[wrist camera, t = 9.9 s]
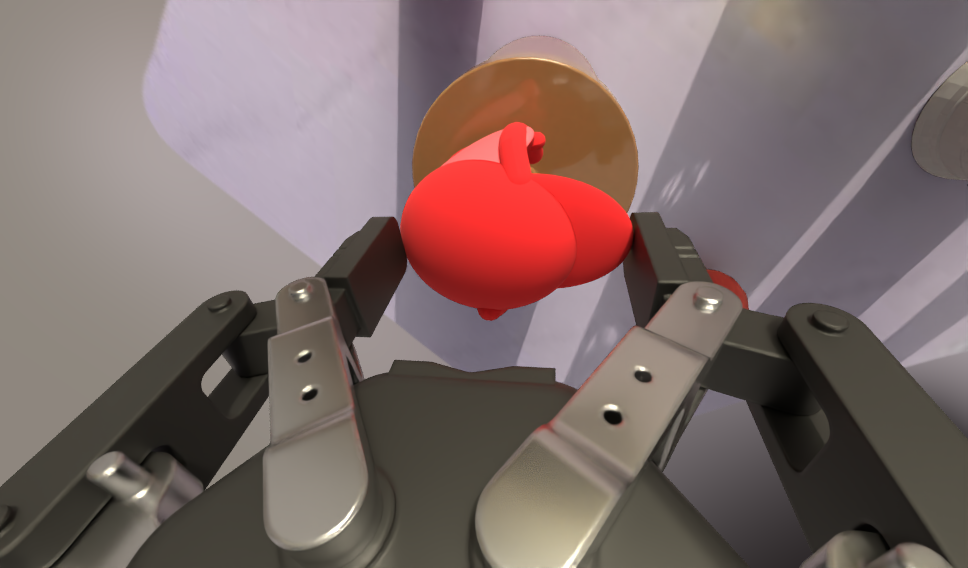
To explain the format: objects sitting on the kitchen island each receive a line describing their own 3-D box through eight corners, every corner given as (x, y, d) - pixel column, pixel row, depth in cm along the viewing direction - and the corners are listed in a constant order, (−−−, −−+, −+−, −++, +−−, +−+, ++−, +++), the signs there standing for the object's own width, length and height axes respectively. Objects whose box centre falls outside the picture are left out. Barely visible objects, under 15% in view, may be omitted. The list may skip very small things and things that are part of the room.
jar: (473, 182, 30) (429, 282, 19) (456, 37, 24) (381, 71, 14) (599, 177, 28) (624, 285, 18) (613, 21, 22) (664, 45, 12)
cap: (468, 278, 19) (441, 375, 14) (393, 176, 16) (327, 254, 11) (630, 212, 15) (666, 310, 11) (572, 68, 12) (585, 115, 8)
